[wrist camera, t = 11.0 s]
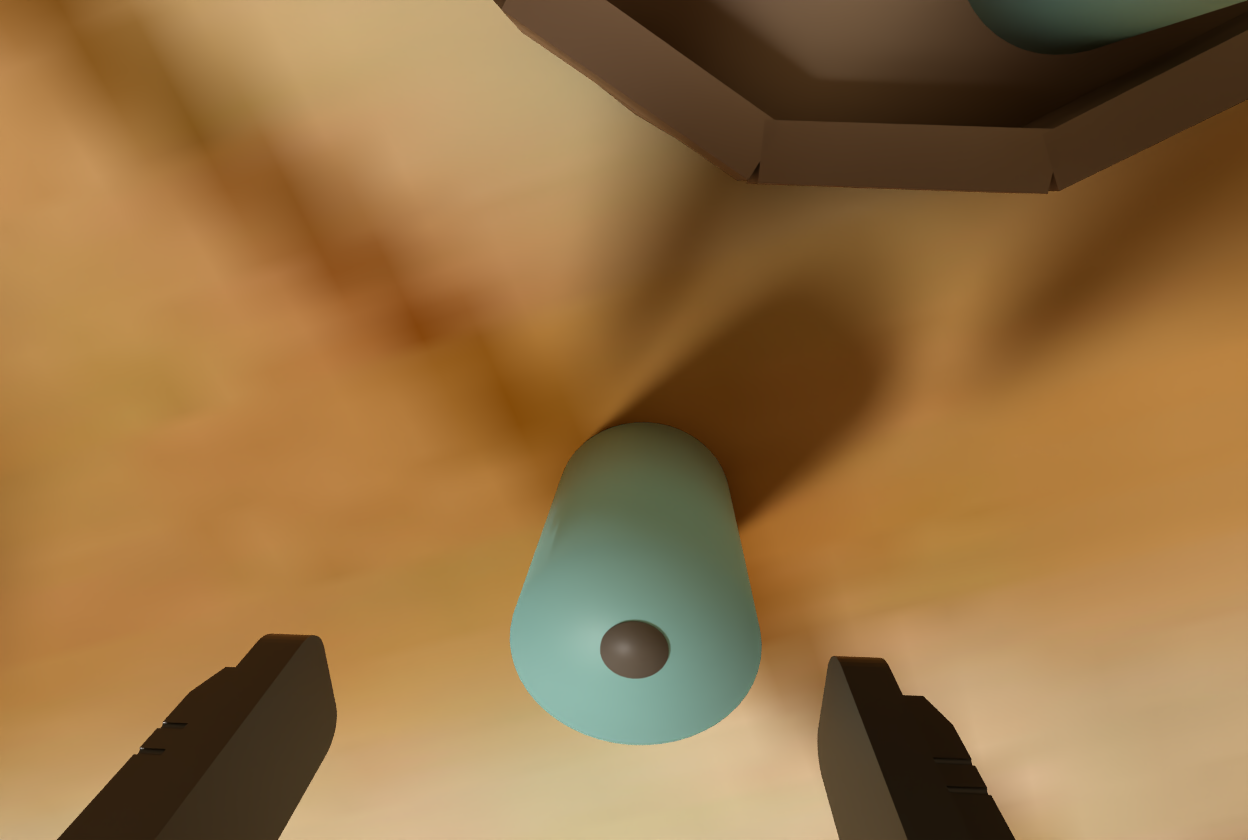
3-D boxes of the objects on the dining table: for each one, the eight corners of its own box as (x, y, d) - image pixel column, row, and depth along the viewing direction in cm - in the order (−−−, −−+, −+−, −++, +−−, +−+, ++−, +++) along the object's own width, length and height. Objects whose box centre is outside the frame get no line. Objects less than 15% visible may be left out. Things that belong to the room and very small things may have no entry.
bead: (765, 480, 16) (814, 624, 11) (668, 602, 17) (669, 782, 12) (615, 388, 15) (591, 493, 10) (528, 523, 17) (466, 676, 11)
